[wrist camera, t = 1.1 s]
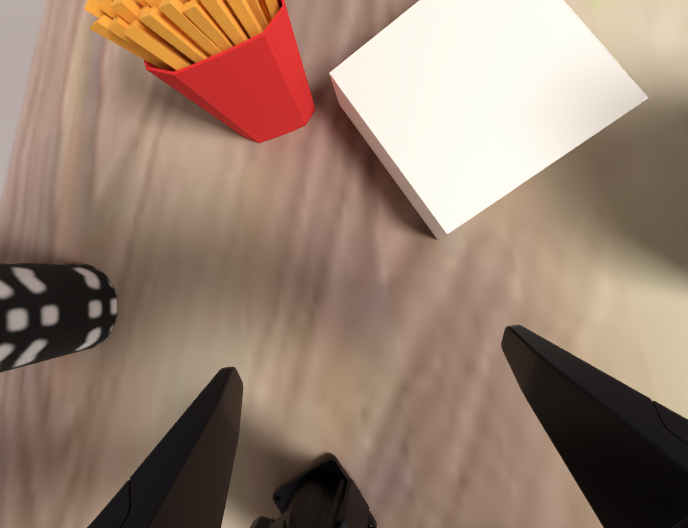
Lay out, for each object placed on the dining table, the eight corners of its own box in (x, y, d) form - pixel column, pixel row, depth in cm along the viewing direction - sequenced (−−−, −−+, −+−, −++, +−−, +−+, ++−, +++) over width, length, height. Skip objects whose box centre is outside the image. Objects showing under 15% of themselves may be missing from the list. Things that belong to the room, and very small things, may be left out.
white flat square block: (437, 240, 23) (447, 234, 19) (339, 104, 24) (329, 72, 21) (601, 129, 21) (648, 98, 17) (484, -10, 23) (504, -68, 19)
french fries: (316, 71, 25) (235, -137, 12) (329, 118, 25) (262, -44, 12) (221, 110, 26) (58, -40, 13) (233, 155, 26) (79, 45, 13)
